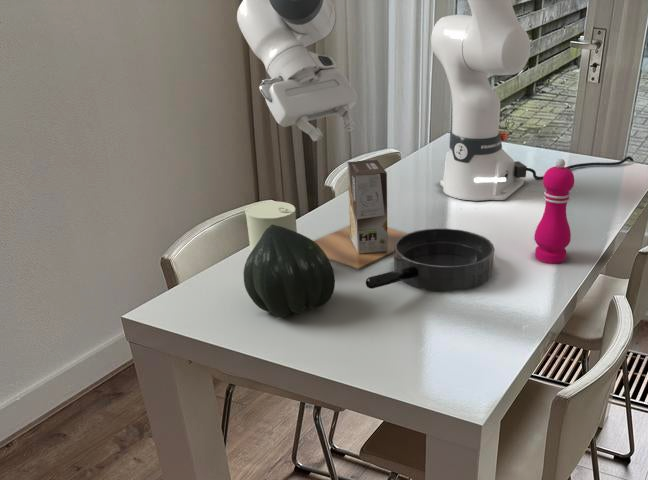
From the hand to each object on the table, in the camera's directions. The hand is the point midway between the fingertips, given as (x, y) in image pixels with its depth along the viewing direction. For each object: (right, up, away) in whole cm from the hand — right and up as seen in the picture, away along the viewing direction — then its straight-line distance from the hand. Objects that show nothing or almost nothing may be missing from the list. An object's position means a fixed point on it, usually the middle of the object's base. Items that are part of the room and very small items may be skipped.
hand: (335, 133), depth 150 cm
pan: (+21, -27, -1) cm, 34 cm away
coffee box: (+6, -20, +8) cm, 22 cm away
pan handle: (+12, -32, -13) cm, 36 cm away
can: (-11, -26, -2) cm, 29 cm away
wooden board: (+4, -20, +9) cm, 22 cm away
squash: (-6, -35, -16) cm, 39 cm away
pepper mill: (+43, -23, +6) cm, 49 cm away
